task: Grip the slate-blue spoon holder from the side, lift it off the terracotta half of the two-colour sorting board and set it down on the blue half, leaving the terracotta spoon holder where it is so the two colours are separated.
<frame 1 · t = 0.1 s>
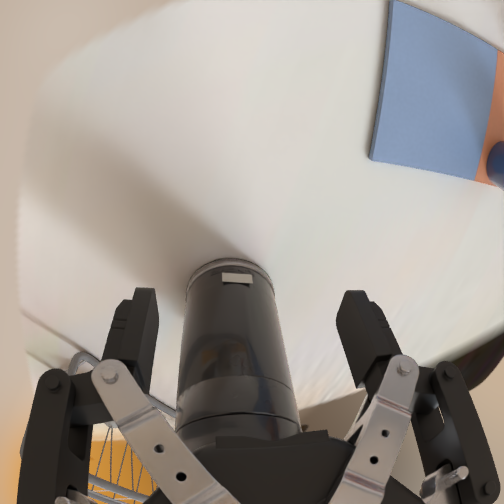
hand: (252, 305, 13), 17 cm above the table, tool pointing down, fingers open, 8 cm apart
blue spoon holder: (500, 163, 28), point 1 cm above the table, touching sorting board
sorting board: (485, 113, 25), on the table
newton's cradle: (135, 404, 46), on the table
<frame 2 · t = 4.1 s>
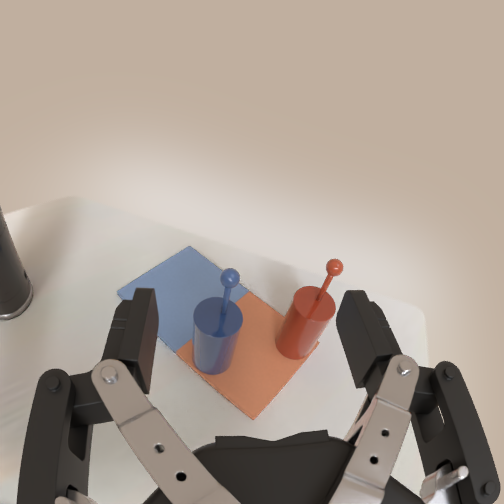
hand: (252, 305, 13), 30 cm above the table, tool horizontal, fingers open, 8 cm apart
blue spoon holder: (211, 356, 42), point 1 cm above the table, touching sorting board
sorting board: (214, 322, 47), on the table
terracotta spoon holder: (293, 343, 46), point 1 cm above the table, touching sorting board
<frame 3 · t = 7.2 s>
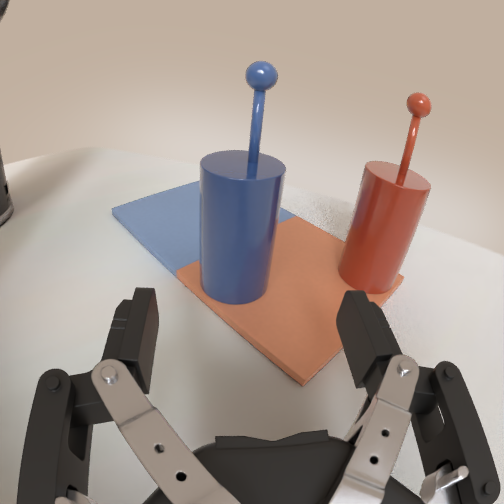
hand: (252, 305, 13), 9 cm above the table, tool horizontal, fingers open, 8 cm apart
blue spoon holder: (233, 280, 26), point 1 cm above the table, touching sorting board
sorting board: (244, 245, 32), on the table
terracotta spoon holder: (366, 274, 28), point 1 cm above the table, touching sorting board
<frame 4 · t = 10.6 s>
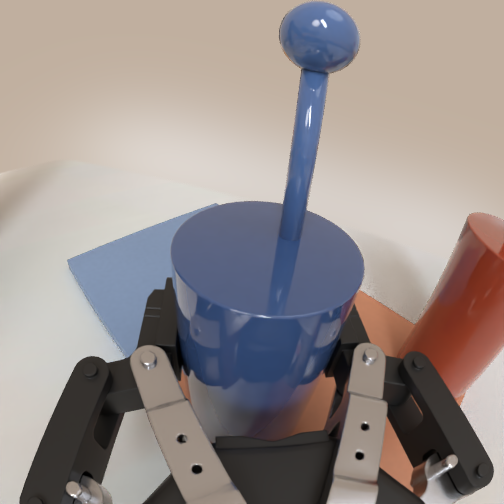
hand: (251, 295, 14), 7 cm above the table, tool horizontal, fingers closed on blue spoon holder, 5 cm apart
blue spoon holder: (244, 408, 15), point 1 cm above the table, touching gripper, sorting board
sorting board: (257, 328, 21), on the table
terracotta spoon holder: (432, 370, 17), point 1 cm above the table, touching sorting board
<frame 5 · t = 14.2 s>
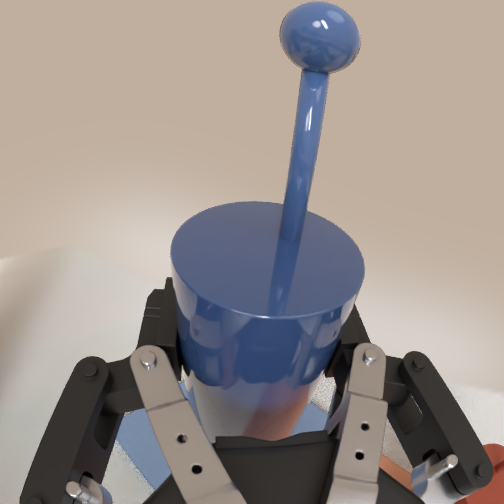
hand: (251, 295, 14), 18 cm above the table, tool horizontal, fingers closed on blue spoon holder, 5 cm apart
blue spoon holder: (244, 408, 15), point 12 cm above the table, touching gripper
sorting board: (287, 492, 20), on the table
when the fingers open (7 cm above the table, at t = 18.1 s): blue spoon holder stays where it is, resting on sorting board.
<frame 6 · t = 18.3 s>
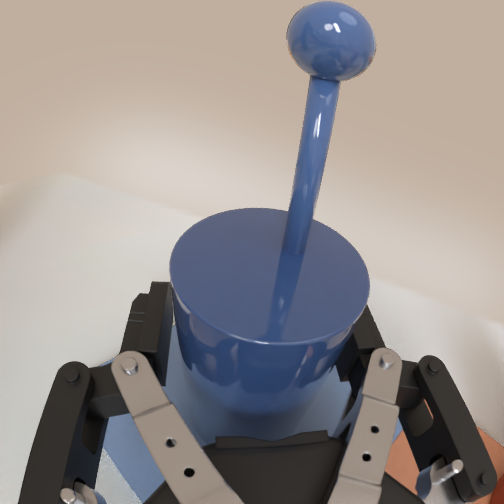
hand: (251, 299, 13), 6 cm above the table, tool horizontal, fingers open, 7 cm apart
blue spoon holder: (245, 409, 15), point 1 cm above the table, touching sorting board
sorting board: (349, 491, 12), on the table
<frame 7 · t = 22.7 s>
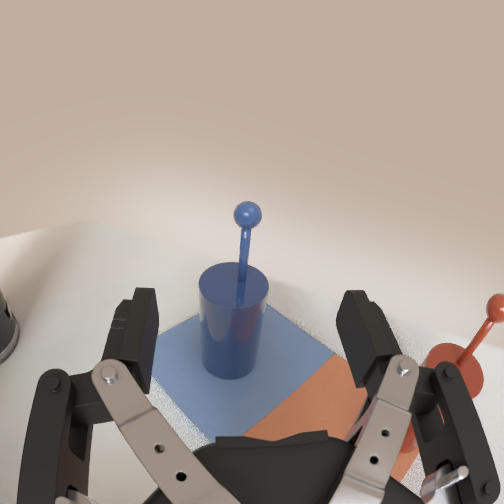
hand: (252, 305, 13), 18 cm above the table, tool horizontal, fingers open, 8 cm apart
blue spoon holder: (229, 357, 31), point 1 cm above the table, touching sorting board
sorting board: (285, 401, 28), on the table
terracotta spoon holder: (402, 428, 25), point 1 cm above the table, touching sorting board
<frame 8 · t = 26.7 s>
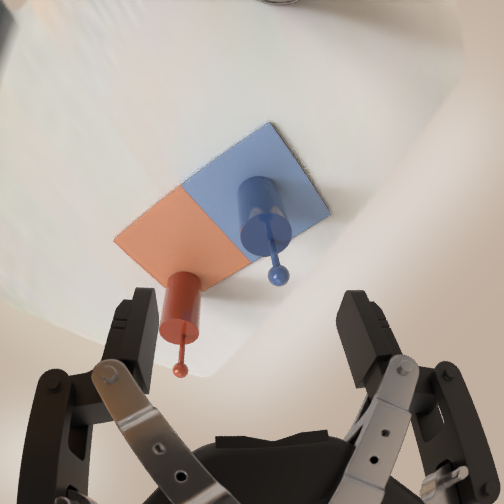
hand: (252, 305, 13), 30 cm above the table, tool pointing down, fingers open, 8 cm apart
blue spoon holder: (257, 195, 42), point 1 cm above the table, touching sorting board
sorting board: (218, 224, 45), on the table
terracotta spoon holder: (184, 284, 51), point 1 cm above the table, touching sorting board
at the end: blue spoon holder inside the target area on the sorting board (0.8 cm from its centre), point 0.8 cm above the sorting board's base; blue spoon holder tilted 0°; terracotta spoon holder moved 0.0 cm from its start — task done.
